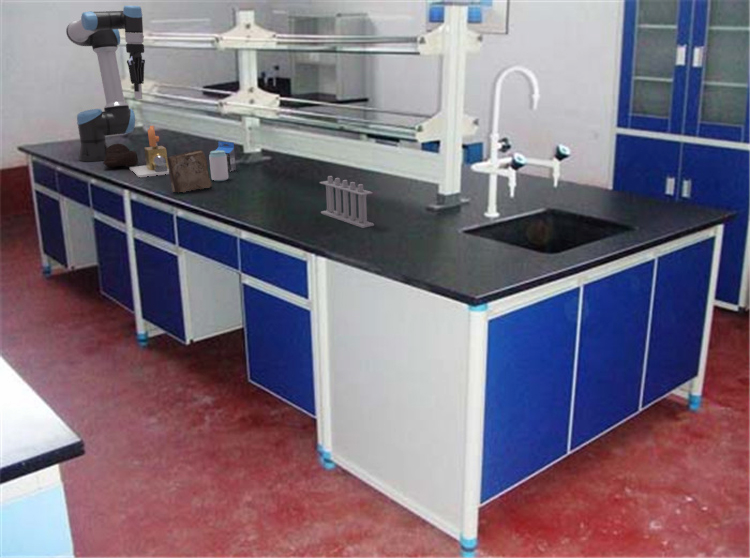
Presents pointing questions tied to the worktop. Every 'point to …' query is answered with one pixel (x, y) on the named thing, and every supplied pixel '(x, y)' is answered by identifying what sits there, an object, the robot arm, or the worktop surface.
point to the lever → (152, 137)
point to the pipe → (120, 156)
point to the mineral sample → (188, 171)
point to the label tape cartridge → (228, 154)
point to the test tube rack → (346, 202)
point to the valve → (156, 158)
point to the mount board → (146, 171)
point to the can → (218, 165)
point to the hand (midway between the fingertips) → (138, 98)
